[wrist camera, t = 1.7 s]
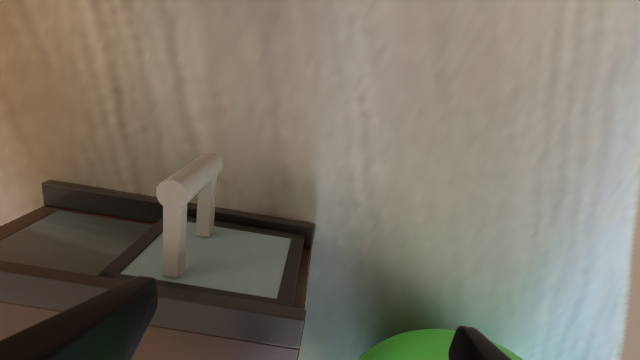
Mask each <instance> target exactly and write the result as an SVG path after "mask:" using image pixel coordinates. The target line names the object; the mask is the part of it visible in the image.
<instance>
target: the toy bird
mask: <svg viewBox="0 0 640 360" xmlns="http://www.w3.org/2000/svg"><path fill="white" fill-rule="evenodd" d="M455 331H456V330H448V329H421V330H414V331H409V332H404V333H401V334H398V335H395V336H392V337H390V338H388V339H386V340H384V341H382V342H380V343H378V344H376V345H375V346H373V347H372V348H370V349H369V350H368V351H366V352H365V353H364V354H362V355H361V356H360V357H359V358H358V359H357V360H449V357H448V352H449V347H450V345H451V342H452V339H453V337H454V334H455ZM489 341H490V340H489ZM491 342H492V341H491ZM492 343H493V344H494V345H495V346H496V347H498V348H499V349H500V350H501V351H502V352H503V353H505V354H506V355H507V356H508V357H509V358H510V359H511V360H523V359H522V358H520V357H519V356H517V355H516V354H514V353H513V352H511V351H509V350H508V349H506V348H504V347H502V346H500V345H498V344H496V343H494V342H492Z"/></svg>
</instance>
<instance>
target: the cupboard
mask: <svg viewBox="0 0 640 360" xmlns="http://www.w3.org/2000/svg"><path fill="white" fill-rule="evenodd" d="M42 191H43V199H44V206H42V207H41V208H38V209H36V210H34V211H32V212H30V213H28V214H26V215H24V216H21V217H19V218H17V219H15V220H13V221H11V222H9V223H7V224H5V225H3V226H1V227H0V340H3V339H5V338H7V337H9V336H11V335H13V334H15V333H18V332H20V331H22V330H24V329H26V328H28V327H30V326H33V325H35V324H37V323H39V322H41V321H43V320H45V319H48V318H50V317H52V316H54V315H56V314H58V313H60V312H63V311H65V310H67V309H69V308H71V307H73V306H75V305H78V304H80V303H82V302H84V301H86V300H88V299H90V298H93V297H95V296H97V295H99V294H101V293H103V292H105V291H108V290H110V289H112V288H114V287H116V286H118V285H120V284H123V283H125V282H127V280H120V279H114V278H108V277H102V276H97V275H98V274H99V273H100V272H101V271H102V270H103V269H104V268H106V267H107V266H108V265H109V264H110V263H111V262H112V261H114V260H115V259H116V258H117V257H118V256H119V255H120V254H122V253H123V252H124V251H125V250H126V249H127V248H128V247H130V246H131V245H132V244H133V243H134V242H135V241H136V240H137V239H139V238H140V237H141V236H142V235H143V234H144V233H145V232H147V231H148V230H149V229H150V228H151V227H152V226H153V225H155V224H156V223H157V222H158V221H159V220H160V219H161V218H162V217H163V205H161V204H160V202H159V201H158V199H157V198H156V197H150V196H144V195H138V194H132V193H126V192H120V191H114V190H108V189H102V188H96V187H90V186H83V185H77V184H71V183H65V182H59V181H53V180H48V181H46V182H43V183H42ZM187 216H190V217H197V204H192V203H187ZM214 220H215V221H221V222H227V223H233V224H239V225H245V226H251V227H257V228H263V229H269V230H276V231H282V232H288V233H294V234H300V235H305V237H304V243H303V249H302V255H301V261H300V267H299V273H298V279H297V285H296V291H295V297H294V302H293V307H288V306H282V305H276V304H270V303H263V302H257V301H251V300H245V299H239V298H232V297H226V296H220V295H214V294H207V293H201V292H195V291H189V290H183V289H176V288H170V287H164V286H158V285H157V297H158V303H157V309H156V312H155V314H154V316H153V318H152V320H151V322H150V324H149V326H148V328H147V329H146V331H145V333H144V335H143V337H142V339H141V341H140V343H139V345H138V347H137V349H136V351H135V353H134V355H133V357H132V359H131V360H298V355H299V350H300V344H301V339H302V334H303V328H304V323H305V315H306V310H305V309H304V308H305V299H306V291H307V283H308V274H309V266H310V258H311V249H312V244H313V238H314V232H315V226H316V225H315V224H313V223H307V222H301V221H295V220H289V219H283V218H277V217H271V216H265V215H259V214H253V213H247V212H241V211H235V210H229V209H223V208H217V207H215V216H214Z"/></svg>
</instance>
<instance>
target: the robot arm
mask: <svg viewBox="0 0 640 360" xmlns="http://www.w3.org/2000/svg"><path fill="white" fill-rule="evenodd" d="M157 303H158V297H157V280H156V278H154V277H148V276H138V277H135V278H133V279H131V280H129V281H127V282H125V283H123V284H120V285H118V286H116V287H114V288H112V289H110V290H108V291H105V292H103V293H101V294H99V295H97V296H95V297H93V298H90V299H88V300H86V301H84V302H82V303H80V304H78V305H75V306H73V307H71V308H69V309H67V310H65V311H63V312H60V313H58V314H56V315H54V316H52V317H50V318H48V319H45V320H43V321H41V322H39V323H37V324H35V325H33V326H30V327H28V328H26V329H24V330H22V331H20V332H18V333H15V334H13V335H11V336H9V337H7V338H5V339H3V340H0V360H131V359H132V357H133V355H134V353H135V351H136V349H137V347H138V345H139V343H140V341H141V339H142V337H143V335H144V333H145V331H146V329H147V328H148V326H149V324H150V322H151V320H152V318H153V316H154V314H155V312H156V309H157ZM448 357H449V360H511V359H510V358H509V357H508V356H507V355H506V354H505V353H503V352H502V351H501V350H500V349H499V348H498V347H496V346H495V345H494V344H493V343H492V342H491V341H489V340H488V339H487V338H486V337H485V336H484V335H483V334H481V333H480V332H479V331H478V330H477V329H475V328H472V327H466V326H459V327H458V328H457V329H456V331H455V334H454V337H453V339H452V342H451V345H450V347H449V352H448Z"/></svg>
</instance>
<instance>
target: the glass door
mask: <svg viewBox="0 0 640 360" xmlns="http://www.w3.org/2000/svg"><path fill="white" fill-rule="evenodd" d="M222 169H223V162H222V160H221V158H220V157H219V156H218V155H217V154H215V153H212V152H207V153H204V154H202V155H201V156H199V157H198V158H196V159H195V160H193V161H192V162H190V163H189V164H187V165H186V166H184V167H183V168H181V169H180V170H178V171H177V172H175V173H174V174H172V175H171V176H169V177H168V178H166V179H165V180H163V181H162V182H160V183H159V184H158V186H157V188H156V197H157V199H158V201H159V202H160V204H161V205H163V217H162V218H161V219H160V220H159V221H158V222H157V223H156V224H155V225H153V226H152V227H151V228H150V229H149V230H148V231H147V232H145V233H144V234H143V235H142V236H141V237H140V238H139V239H137V240H136V241H135V242H134V243H133V244H132V245H131V246H130V247H128V248H127V249H126V250H125V251H124V252H123V253H122V254H120V255H119V256H118V257H117V258H116V259H115V260H114V261H112V262H111V263H110V264H109V265H108V266H107V267H106V268H104V269H103V270H102V271H101V272H100V273H99V274H98V275H97V276H102V277H108V278H114V279H120V280H127V281H129V280H131V279H133V278H135V277H138V276H148V277H154V278H156V280H157V285H158V286H164V287H170V288H176V289H183V290H189V291H195V292H201V293H207V294H214V295H220V296H226V297H232V298H239V299H245V300H251V301H257V302H263V303H270V304H276V305H282V306H288V307H293V302H294V297H295V291H296V285H297V279H298V273H299V267H300V261H301V255H302V249H303V243H304V237H305V235H300V234H294V233H288V232H282V231H276V230H269V229H263V228H257V227H251V226H245V225H239V224H233V223H227V222H221V221H215V220H214V216H215V200H216V184H217V175H218V174H219V173H220V172H221V171H222ZM197 194H198V199H197V217H190V216H187V203H188V202H189V201H190V200H192V199H193V198H194V197H195V196H196V195H197Z"/></svg>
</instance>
